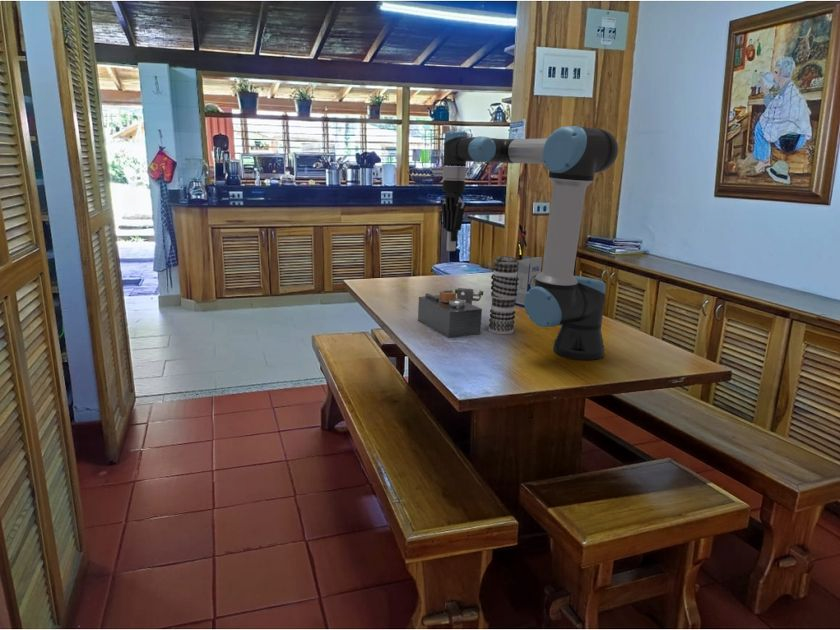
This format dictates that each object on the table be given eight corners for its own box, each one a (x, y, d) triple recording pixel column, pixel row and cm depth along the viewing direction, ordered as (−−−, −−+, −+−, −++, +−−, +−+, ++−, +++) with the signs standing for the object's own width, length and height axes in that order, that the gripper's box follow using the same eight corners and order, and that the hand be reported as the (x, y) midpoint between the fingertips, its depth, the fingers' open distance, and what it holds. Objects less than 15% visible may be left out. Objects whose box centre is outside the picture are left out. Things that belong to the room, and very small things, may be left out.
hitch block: (480, 333, 193) (482, 306, 190) (448, 337, 187) (450, 309, 185) (447, 317, 212) (448, 291, 209) (417, 320, 206) (418, 294, 204)
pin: (466, 331, 194) (467, 302, 192) (452, 332, 192) (454, 303, 189) (458, 327, 199) (459, 298, 196) (444, 328, 196) (446, 299, 194)
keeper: (455, 301, 198) (456, 291, 197) (445, 302, 196) (445, 292, 195) (449, 299, 201) (450, 289, 200) (439, 300, 199) (439, 289, 198)
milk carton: (526, 308, 229) (531, 258, 224) (513, 304, 234) (517, 255, 229) (537, 306, 233) (542, 256, 228) (524, 302, 238) (528, 254, 233)
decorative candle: (484, 332, 195) (489, 258, 189) (491, 325, 203) (496, 254, 197) (511, 335, 192) (517, 260, 185) (517, 328, 200) (523, 256, 194)
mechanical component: (481, 318, 212) (482, 291, 209) (453, 315, 214) (454, 289, 211) (482, 316, 215) (483, 289, 212) (454, 313, 217) (455, 287, 214)
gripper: (474, 180, 190) (470, 252, 196) (453, 179, 201) (450, 247, 207) (454, 180, 186) (451, 253, 192) (434, 179, 197) (432, 248, 203)
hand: (451, 250), depth 199 cm, fingers closed
